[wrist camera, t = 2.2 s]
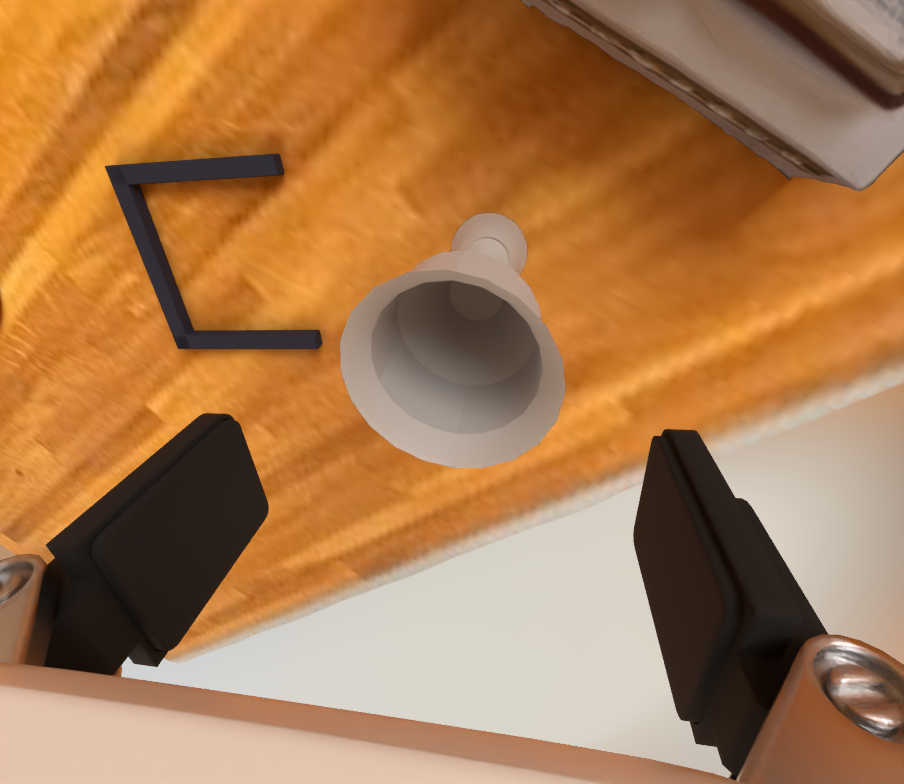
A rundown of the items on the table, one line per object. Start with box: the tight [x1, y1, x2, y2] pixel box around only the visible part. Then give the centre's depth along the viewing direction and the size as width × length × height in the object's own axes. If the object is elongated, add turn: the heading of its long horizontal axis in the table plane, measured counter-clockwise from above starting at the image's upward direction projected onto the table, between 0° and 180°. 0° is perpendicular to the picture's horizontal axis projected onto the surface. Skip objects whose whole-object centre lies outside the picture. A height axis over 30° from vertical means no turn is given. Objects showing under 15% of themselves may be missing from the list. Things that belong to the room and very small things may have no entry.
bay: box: [105, 154, 322, 349], centre depth 32 cm, size 12×13×1 cm
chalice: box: [340, 212, 566, 468], centre depth 22 cm, size 7×7×18 cm
